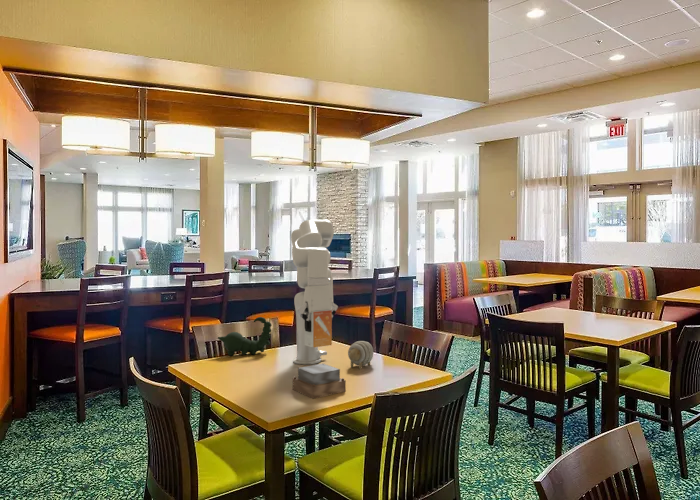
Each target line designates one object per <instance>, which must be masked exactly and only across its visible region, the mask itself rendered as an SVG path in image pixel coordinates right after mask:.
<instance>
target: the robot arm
mask: <svg viewBox="0 0 700 500" xmlns="http://www.w3.org/2000/svg"><path fill="white" fill-rule="evenodd" d="M334 233H335V229H334V224H333V223H332V222H331V220H328V219H306V220H304V221H302V222H301V223H300V225H299V228H297V229H295V230H294V229H293V231H292V232H291V234H290V241H291V246H292V248H291V256H292V262H293V265H294V266H295V267H296V276H297V277H296V278H297V280H296V281H297V286H298V287H299V288H301V289H304V291H301V292H298V293H296V294H295V296H294V303H293V304H294V308H295V309H294V310H295V315H296V317H295V318H296V357H294V358H293V360H292V361H293V363H294V364H297V365H317V364H320V363H321V362H322V356H327V355H328V352H327V350H319V347H314V348H313V347H310V346H307V345H305V331H307V332H311V321H310V319H311V314H312V312H313V311H322V310H332V319H333V318H334V315H335V314H336V312H337V310H338V308H339V306H338V305H337V304H336V303H334V282H333V281H334V280H333V273H332V269H331V268H329V264H330V263H331V252H330V251H329V249H328V247H330V245H331V243H332V240H333V238H334ZM305 310H307V311H305ZM308 310H309V312H308ZM305 313H306V314H305ZM308 314H309V315H308Z"/></svg>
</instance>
